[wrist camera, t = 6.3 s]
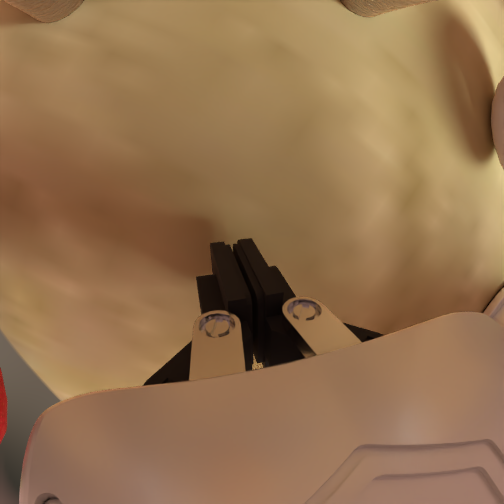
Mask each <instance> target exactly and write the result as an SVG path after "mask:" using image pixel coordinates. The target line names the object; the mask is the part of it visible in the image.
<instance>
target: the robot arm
mask: <svg viewBox="0 0 504 504" xmlns="http://www.w3.org/2000/svg"><path fill="white" fill-rule="evenodd" d="M210 249H211V260H212V271H213V275H205V276H198V277H196V280H197V288H198V295H199V302H200V308H201V314H202V315H201V316H199V317H198V318H197V319H196V321H195V323H194V326H193V337H192V341H191V342H190V343H189V344H187V345H186V346H185V347H184V348H183V349H182V350H181V351H180V352H179V353H177V354H176V355H175V356H174V357H173V358H172V359H171V360H170V361H168V362H167V363H166V364H165V365H164V366H163V367H162V368H161V369H159V370H158V371H157V372H156V373H155V374H154V375H153V376H151V377H150V378H149V379H148V380H147V381H146V382H145V383H144V385H143V386H137V387H128V388H118V389H108V390H102V391H95V392H90V393H86V394H82V395H77V396H74V397H71V398H69V399H66V400H63V401H61V402H59V403H56V404H55V405H53V406H51V407H49V408H48V409H46V410H45V411H44V412H43V413H42V414H41V415H40V417H39V418H38V419H37V421H36V423H35V424H34V427H33V429H32V431H31V434H30V437H29V440H28V443H27V447H26V451H25V456H24V462H23V467H22V475H21V483H20V497H19V499H20V500H19V504H504V287H503V288H502V289H501V290H500V292H499V293H498V294H497V295H496V296H495V298H494V299H493V300H492V301H491V303H490V304H489V305H488V307H487V308H486V310H485V311H484V312H483V313H479V312H456V313H450V314H446V315H442V316H439V317H436V318H433V319H430V320H427V321H424V322H421V323H419V324H416V325H413V326H410V327H408V328H405V329H402V330H399V331H396V332H393V333H390V334H387V335H382V334H380V333H377V332H373V331H370V330H366V329H363V328H359V327H356V326H353V325H349V324H346V323H342V322H341V321H340V320H339V319H338V318H337V317H336V316H335V315H334V314H333V313H332V312H331V311H330V310H329V309H328V308H327V307H326V306H325V305H324V304H323V303H321V302H320V301H319V300H316V299H314V298H310V297H296V296H295V294H294V293H293V291H292V290H291V288H290V287H289V285H288V283H287V282H286V280H285V279H284V277H283V276H282V274H281V272H280V271H279V269H278V268H277V267H276V266H271V267H268V265H267V263H266V262H265V260H264V258H263V257H262V255H261V253H260V252H259V250H258V248H257V247H256V245H255V243H254V242H253V240H252V239H251V238H250V239H241V240H238V241H237V244H233V252H232V249H231V247H230V245H225V243H224V242H217V243H210ZM253 353H254V356H255V359H256V362H257V363H261V362H262V364H263V367H264V368H260V369H255V370H252V364H253Z"/></svg>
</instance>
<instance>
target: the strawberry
mask: <svg viewBox="0 0 504 504" xmlns="http://www.w3.org/2000/svg"><path fill="white" fill-rule="evenodd" d="M6 430H7V397H6V392H5V387H4V382H3V377H2V372H1V368H0V443H1V441H2V439H3V437H4V435H5V433H6Z"/></svg>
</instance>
